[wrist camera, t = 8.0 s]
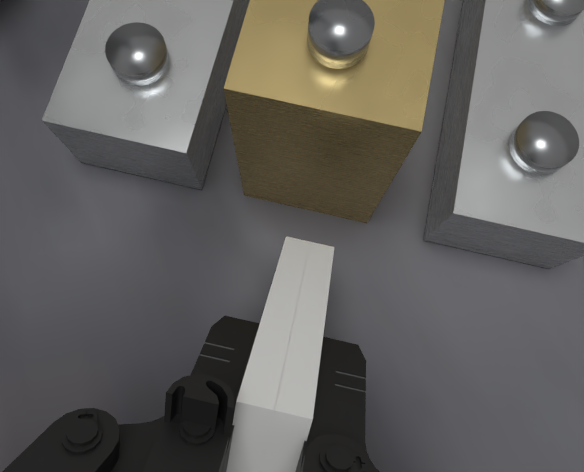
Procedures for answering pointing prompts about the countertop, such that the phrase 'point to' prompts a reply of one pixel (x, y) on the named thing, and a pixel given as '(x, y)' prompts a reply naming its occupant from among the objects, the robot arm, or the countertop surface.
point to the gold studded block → (329, 98)
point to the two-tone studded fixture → (455, 130)
